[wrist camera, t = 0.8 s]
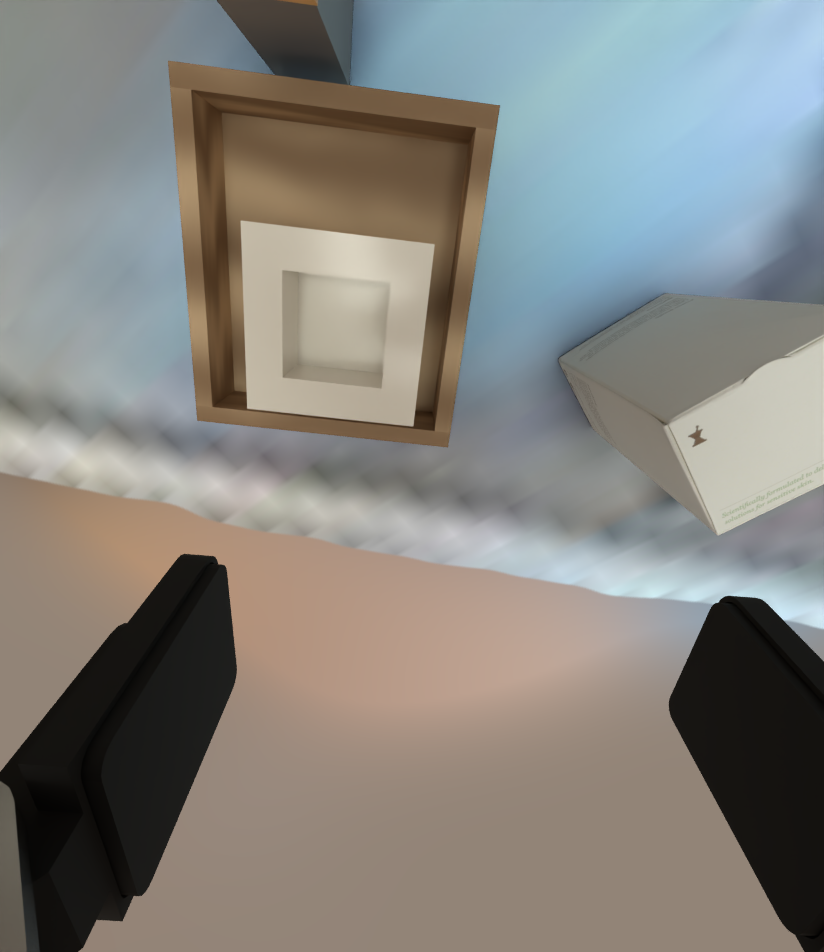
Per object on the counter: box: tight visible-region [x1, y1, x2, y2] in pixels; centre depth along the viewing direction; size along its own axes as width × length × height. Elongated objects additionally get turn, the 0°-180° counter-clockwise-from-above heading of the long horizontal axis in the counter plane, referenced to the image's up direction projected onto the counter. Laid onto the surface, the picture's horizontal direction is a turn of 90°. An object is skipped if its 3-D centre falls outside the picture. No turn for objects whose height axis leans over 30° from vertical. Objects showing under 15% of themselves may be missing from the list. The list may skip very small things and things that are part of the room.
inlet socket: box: [241, 221, 435, 426], centre depth 28 cm, size 9×9×8 cm
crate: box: [168, 61, 500, 447], centre depth 29 cm, size 18×16×5 cm
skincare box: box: [559, 293, 824, 535], centre depth 26 cm, size 8×7×16 cm
